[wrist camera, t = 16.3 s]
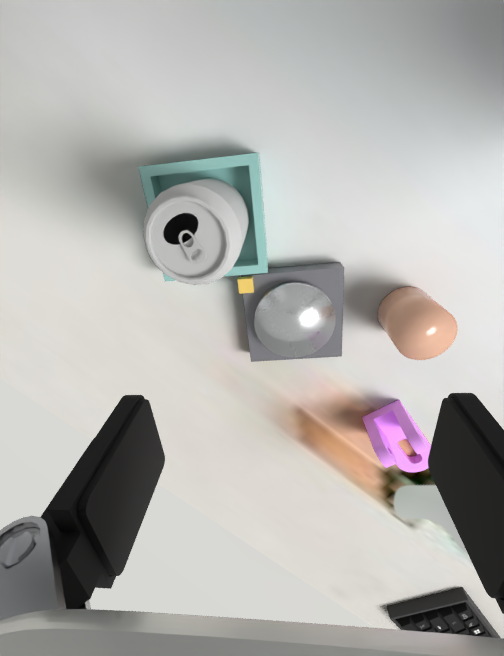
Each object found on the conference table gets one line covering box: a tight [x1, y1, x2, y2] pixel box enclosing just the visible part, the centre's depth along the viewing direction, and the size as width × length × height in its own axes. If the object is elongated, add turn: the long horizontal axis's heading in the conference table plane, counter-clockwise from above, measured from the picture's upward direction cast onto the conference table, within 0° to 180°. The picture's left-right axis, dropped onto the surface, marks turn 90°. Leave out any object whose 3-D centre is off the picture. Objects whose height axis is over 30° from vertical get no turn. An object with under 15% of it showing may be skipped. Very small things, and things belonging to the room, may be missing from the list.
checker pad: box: [254, 281, 336, 357], centre depth 36 cm, size 9×9×1 cm
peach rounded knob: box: [378, 287, 457, 360], centre depth 35 cm, size 6×6×6 cm
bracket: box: [362, 400, 431, 472], centre depth 44 cm, size 13×6×7 cm, turn 37°
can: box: [143, 178, 249, 285], centre depth 28 cm, size 8×8×12 cm
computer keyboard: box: [387, 587, 500, 638], centre depth 73 cm, size 45×16×4 cm, turn 35°
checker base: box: [237, 262, 344, 362], centre depth 38 cm, size 11×11×3 cm
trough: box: [139, 153, 268, 281], centre depth 33 cm, size 11×11×3 cm
